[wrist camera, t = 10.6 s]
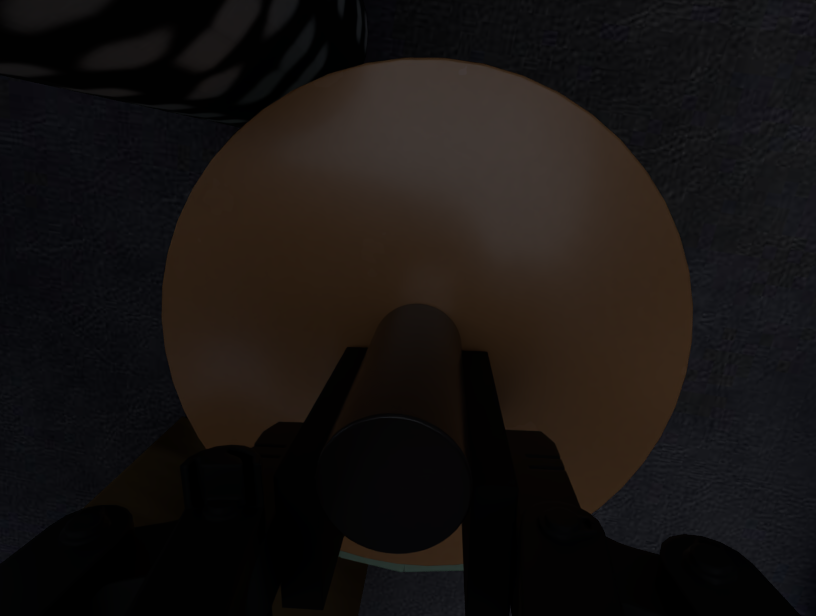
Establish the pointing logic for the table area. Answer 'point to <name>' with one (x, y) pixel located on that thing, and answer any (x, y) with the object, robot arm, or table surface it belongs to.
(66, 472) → the table surface
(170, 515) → the stand
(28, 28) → the spotted tube
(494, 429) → the robot arm
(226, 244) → the lid
